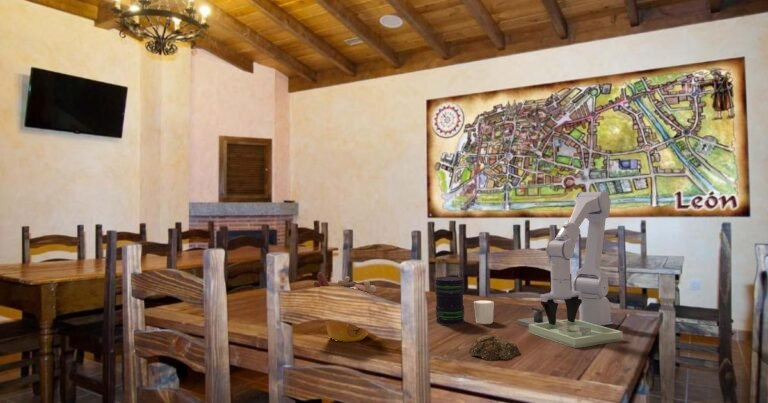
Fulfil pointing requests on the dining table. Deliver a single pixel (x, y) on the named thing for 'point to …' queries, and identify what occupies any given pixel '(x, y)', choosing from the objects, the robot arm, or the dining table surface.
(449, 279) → the storage jar
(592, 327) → the tray
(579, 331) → the ring
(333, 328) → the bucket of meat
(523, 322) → the base
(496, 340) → the brown lumpy mound
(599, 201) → the robot arm
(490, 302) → the shot glass
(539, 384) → the dining table surface
